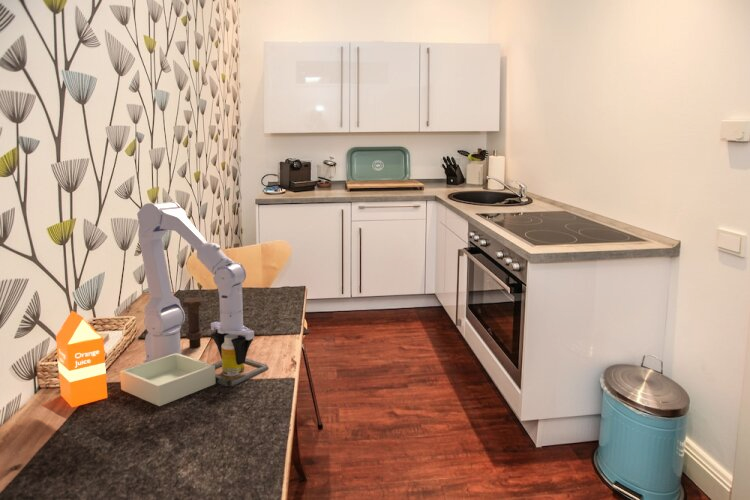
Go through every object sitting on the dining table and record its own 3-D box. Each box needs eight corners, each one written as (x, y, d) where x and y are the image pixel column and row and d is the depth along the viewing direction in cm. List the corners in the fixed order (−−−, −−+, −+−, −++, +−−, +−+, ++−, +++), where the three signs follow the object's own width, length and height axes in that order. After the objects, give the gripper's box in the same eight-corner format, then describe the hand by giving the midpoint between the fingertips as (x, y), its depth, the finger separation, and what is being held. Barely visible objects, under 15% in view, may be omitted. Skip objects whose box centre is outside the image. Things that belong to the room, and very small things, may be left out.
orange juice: (95, 386, 131) (89, 307, 128) (108, 397, 124) (102, 314, 121) (60, 395, 125) (52, 313, 122) (71, 407, 119) (63, 321, 116)
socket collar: (195, 375, 138) (195, 370, 138) (236, 360, 149) (236, 355, 148) (230, 387, 130) (230, 382, 130) (270, 371, 141) (270, 365, 141)
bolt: (202, 352, 155) (199, 302, 153) (184, 352, 155) (181, 302, 152) (205, 345, 161) (203, 297, 159) (188, 346, 160) (186, 297, 158)
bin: (121, 389, 129) (119, 370, 128) (177, 370, 141) (176, 352, 141) (159, 406, 120) (158, 386, 119) (215, 383, 133) (214, 365, 132)
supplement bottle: (244, 376, 137) (242, 338, 136) (221, 378, 136) (220, 339, 135) (244, 368, 143) (243, 332, 141) (223, 370, 142) (221, 333, 140)
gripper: (200, 309, 138) (202, 359, 140) (238, 318, 130) (239, 371, 132) (222, 303, 143) (224, 352, 146) (259, 312, 135) (261, 363, 137)
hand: (233, 360), depth 139 cm, fingers closed on supplement bottle, 6 cm apart
